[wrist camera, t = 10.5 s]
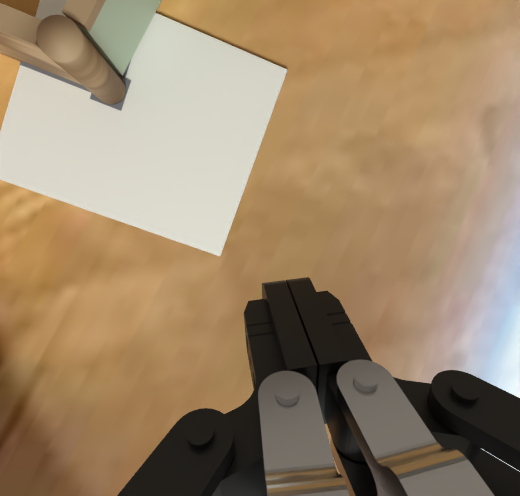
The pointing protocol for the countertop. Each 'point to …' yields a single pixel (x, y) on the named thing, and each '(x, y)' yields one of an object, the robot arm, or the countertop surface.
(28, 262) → the countertop surface
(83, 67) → the fixed fence
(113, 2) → the swing panel
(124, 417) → the countertop surface
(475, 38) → the countertop surface
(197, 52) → the card
